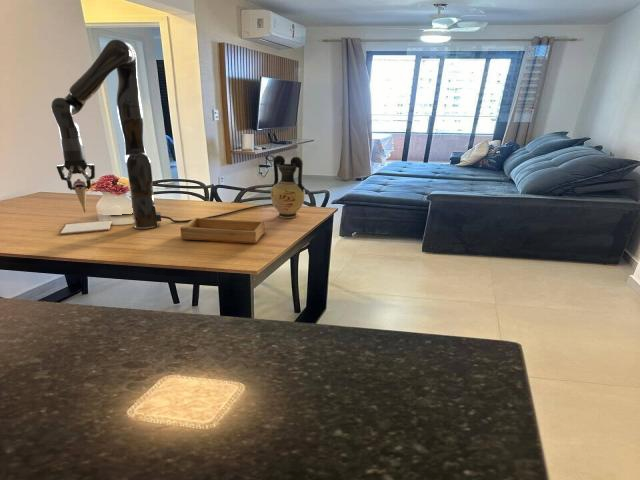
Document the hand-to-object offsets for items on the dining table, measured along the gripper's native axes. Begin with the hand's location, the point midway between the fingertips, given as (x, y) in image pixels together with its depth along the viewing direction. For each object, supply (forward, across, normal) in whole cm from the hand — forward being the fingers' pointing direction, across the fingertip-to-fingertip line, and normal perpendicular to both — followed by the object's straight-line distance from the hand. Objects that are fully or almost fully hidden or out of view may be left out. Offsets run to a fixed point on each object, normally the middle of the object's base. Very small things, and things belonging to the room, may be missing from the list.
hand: (80, 189), depth 163 cm
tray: (+17, +54, -34) cm, 66 cm away
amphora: (+17, +90, -11) cm, 92 cm away
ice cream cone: (+11, 0, 0) cm, 11 cm away
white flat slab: (+17, 0, 0) cm, 17 cm away
